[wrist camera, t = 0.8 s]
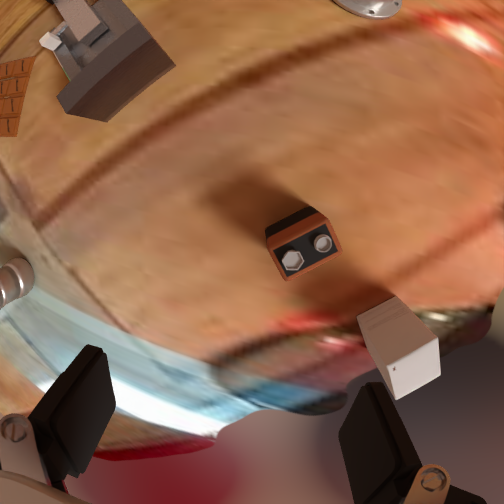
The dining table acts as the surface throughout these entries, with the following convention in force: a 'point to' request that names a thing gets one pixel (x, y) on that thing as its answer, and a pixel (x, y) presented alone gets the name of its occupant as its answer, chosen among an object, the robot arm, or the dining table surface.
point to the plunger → (79, 20)
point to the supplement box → (400, 346)
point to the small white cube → (50, 41)
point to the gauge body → (109, 64)
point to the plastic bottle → (15, 280)
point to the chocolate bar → (13, 93)
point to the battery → (302, 242)
